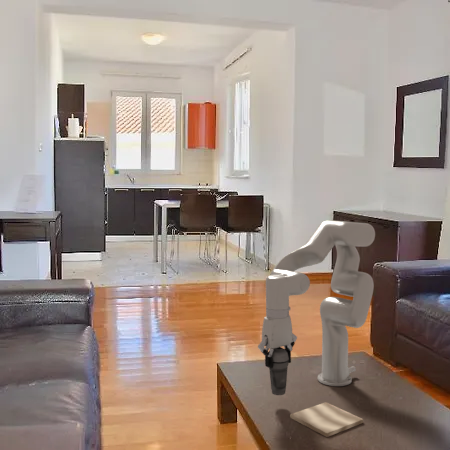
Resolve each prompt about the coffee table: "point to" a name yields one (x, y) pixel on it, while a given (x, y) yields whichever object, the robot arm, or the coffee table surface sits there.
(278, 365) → the beverage cup
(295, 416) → the birch board
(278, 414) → the coffee table surface
